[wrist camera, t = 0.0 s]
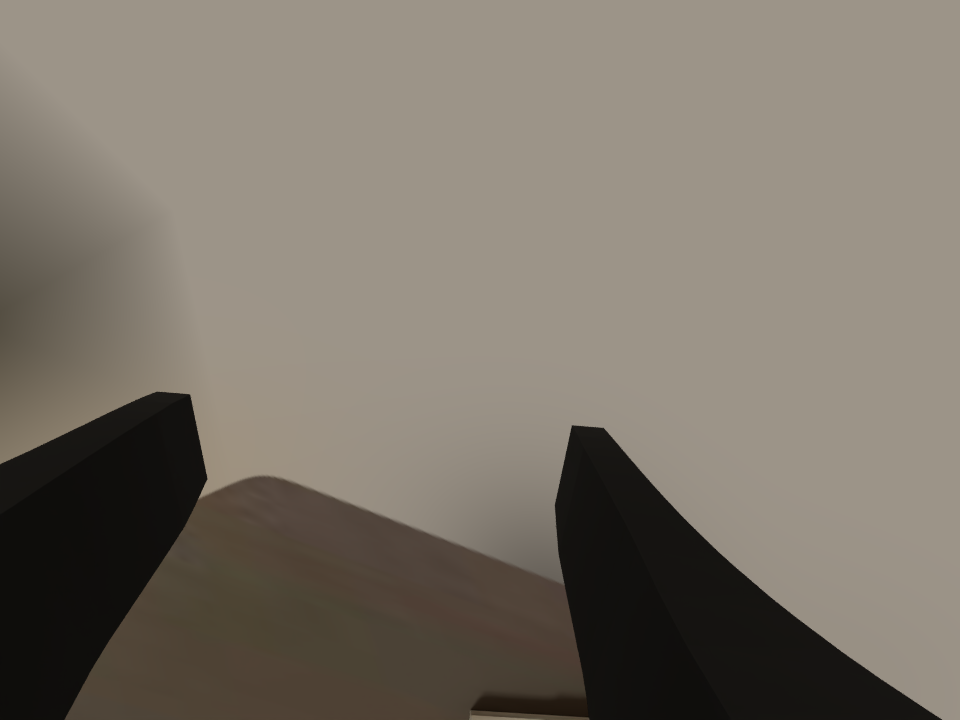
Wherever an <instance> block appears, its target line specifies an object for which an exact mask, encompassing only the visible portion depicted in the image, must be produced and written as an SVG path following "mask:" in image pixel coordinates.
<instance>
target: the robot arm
mask: <svg viewBox="0 0 960 720" xmlns="http://www.w3.org/2000/svg"><path fill="white" fill-rule="evenodd" d="M206 481H207V474H206V469H205V465H204V461H203V455H202V450H201V445H200V440H199V435H198V431H197V426H196V421H195V416H194V411H193V407H192V401H191V397H190V395H189V394H180V393H167V392H155V393H152V394H150V395H147V396H145V397H142V398H140V399H138V400H135V401H133V402H131V403H129V404H126V405H124V406H122V407H120V408H118V409H116V410H114V411H112V412H109V413H107V414H105V415H103V416H101V417H100V418H97V419H95V420H93V421H91V422H89V423H87V424H85V425H83V426H81V427H78V428H76V429H74V430H72V431H70V432H68V433H66V434H64V435H62V436H60V437H58V438H56V439H54V440H51V441H49V442H47V443H45V444H43V445H41V446H39V447H37V448H35V449H33V450H31V451H28V452H26V453H24V454H22V455H20V456H17V457H15V458H13V459H11V460H8V461H6V462H4V463H2V464H0V720H64V719H65V718H66V716H67V714H68V712H69V710H70V708H71V706H72V705H73V703H74V701H75V699H76V697H77V695H78V693H79V692H80V690H81V688H82V686H83V684H84V682H85V681H86V679H87V677H88V675H89V673H90V671H91V669H92V668H93V666H94V664H95V663H96V661H97V660H98V658H99V656H100V655H101V653H102V651H103V650H104V648H105V647H106V645H107V643H108V642H109V640H110V639H111V637H112V636H113V634H114V633H115V631H116V630H117V628H118V627H119V625H120V624H121V622H122V621H123V619H124V618H125V616H126V615H127V613H128V612H129V610H130V609H131V607H132V606H133V604H134V603H135V601H136V600H137V598H138V597H139V595H140V594H141V592H142V591H143V589H144V588H145V586H146V585H147V583H148V582H149V580H150V579H151V577H152V576H153V574H154V573H155V571H156V570H157V568H158V567H159V565H160V564H161V562H162V561H163V559H164V558H165V556H166V554H167V553H168V551H169V550H170V548H171V547H172V545H173V544H174V542H175V541H176V539H177V538H178V536H179V534H180V533H181V531H182V530H183V528H184V527H185V525H186V523H187V521H188V519H189V517H190V515H191V513H192V511H193V509H194V507H195V505H196V503H197V500H198V498H199V496H200V494H201V491H202V489H203V487H204V485H205V483H206ZM555 513H556V528H557V539H558V552H559V558H560V563H561V569H562V574H563V579H564V584H565V589H566V594H567V599H568V604H569V608H570V613H571V618H572V623H573V628H574V633H575V638H576V643H577V648H578V652H579V657H580V662H581V667H582V672H583V678H584V684H585V691H586V697H587V704H588V713H589V720H942V719H940V718H939V717H937V716H935V715H934V714H932V713H931V712H929V711H928V710H926V709H925V708H923V707H922V706H920V705H919V704H917V703H916V702H914V701H913V700H911V699H910V698H908V697H907V696H905V695H904V694H902V693H901V692H899V691H898V690H896V689H895V688H893V687H892V686H890V685H889V684H887V683H886V682H884V681H883V680H881V679H880V678H878V677H877V676H875V675H874V674H873V673H871V672H870V671H868V670H867V669H865V668H864V667H863V666H861V665H860V664H858V663H857V662H855V661H854V660H853V659H851V658H850V657H848V656H847V655H846V654H844V653H843V652H841V651H840V650H839V649H837V648H836V647H835V646H833V645H832V644H831V643H829V642H828V641H827V640H825V639H824V638H823V637H821V636H820V635H819V634H817V633H816V632H815V631H813V630H812V629H811V628H809V627H808V626H807V625H805V624H804V623H803V622H801V621H800V620H799V619H797V618H796V617H795V616H793V615H792V614H791V613H790V612H788V611H787V610H786V609H785V608H783V607H782V606H781V605H780V604H778V603H777V602H775V600H773V599H772V598H771V597H770V596H768V595H767V594H766V593H765V592H764V591H762V590H761V589H760V588H759V587H758V586H757V585H756V584H754V583H753V582H752V581H751V580H750V579H749V578H747V577H746V576H745V575H744V574H743V573H742V572H740V571H739V570H738V569H737V568H736V567H734V566H733V565H732V564H731V563H730V562H729V561H728V560H727V559H726V558H725V557H723V556H722V555H721V554H720V553H719V552H718V551H717V550H716V549H715V548H714V547H713V546H712V545H711V544H710V543H709V542H708V541H707V540H705V539H704V538H703V537H702V536H701V535H700V534H699V533H698V532H697V531H696V530H695V529H694V528H693V527H692V526H691V525H690V524H689V523H688V522H687V521H686V520H685V519H684V518H683V517H682V516H681V515H680V514H679V513H678V512H677V511H676V509H675V508H674V507H673V506H672V505H671V504H670V503H669V502H668V501H667V500H666V499H665V498H664V497H663V496H662V495H661V493H660V492H659V491H658V490H657V489H656V488H655V487H654V486H653V485H652V484H651V482H650V481H649V480H648V479H647V478H646V477H645V475H644V474H643V473H642V472H641V471H640V470H639V469H638V467H637V466H636V465H635V464H634V463H633V462H632V461H631V459H630V458H629V457H628V456H627V455H626V453H625V452H624V451H623V450H622V449H621V448H620V446H619V445H618V444H617V443H616V442H615V441H614V439H613V438H612V437H611V436H610V435H609V434H608V432H607V431H606V430H605V429H604V428H598V427H597V428H596V427H584V426H572V428H571V433H570V437H569V442H568V447H567V451H566V456H565V460H564V465H563V470H562V474H561V479H560V484H559V489H558V493H557V498H556V502H555Z"/></svg>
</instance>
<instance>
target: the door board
mask: <svg viewBox="0 0 960 720" xmlns="http://www.w3.org/2000/svg"><path fill="white" fill-rule="evenodd" d="M470 720H589V718H588V717H572V716H556V715H539V714H523V713H507V712H491V711H475V710H470Z"/></svg>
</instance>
